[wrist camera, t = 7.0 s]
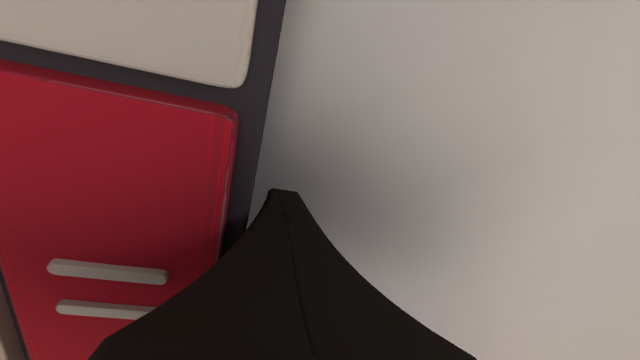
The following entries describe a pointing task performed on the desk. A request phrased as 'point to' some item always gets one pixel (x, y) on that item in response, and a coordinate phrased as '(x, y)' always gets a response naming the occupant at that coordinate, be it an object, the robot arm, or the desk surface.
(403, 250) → the desk surface
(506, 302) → the desk surface
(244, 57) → the calculator
